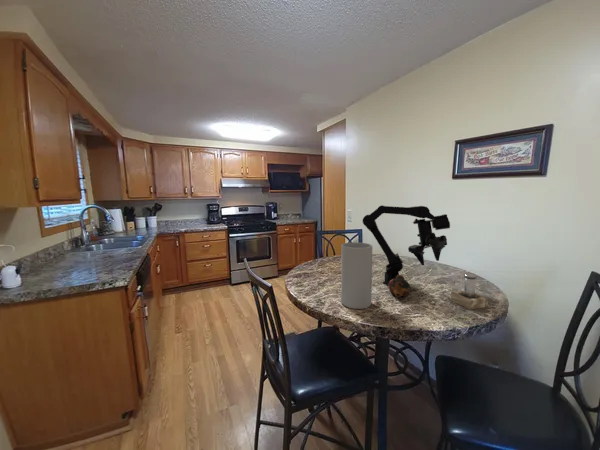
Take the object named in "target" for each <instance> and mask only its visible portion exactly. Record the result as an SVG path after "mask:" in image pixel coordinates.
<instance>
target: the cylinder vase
mask: <svg viewBox="0 0 600 450" xmlns="http://www.w3.org/2000/svg"><path fill="white" fill-rule="evenodd" d="M340 248H341V249H340V251H341V252H340V253H341V254H340V256H341V257H340V262H341V263H340V268H341V269H340V274H341V275H340V276H341V277H340V279H341V280H340V285H341V286H340V289H341V290H340V302H341V304H342V305H343V306H345V307H347V308H350V309H354V310H363V309H367V308H369V307H370V306H371V305H372V295H373V294H372V293H373V291H372V290H373V289H372V287H373V285H372V283H373V282H372V281H373V244H370V243H367V242H365V243H364V242H344V243H342V244H341V247H340Z"/></svg>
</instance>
